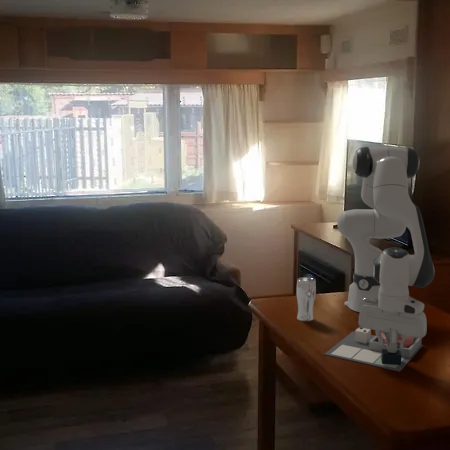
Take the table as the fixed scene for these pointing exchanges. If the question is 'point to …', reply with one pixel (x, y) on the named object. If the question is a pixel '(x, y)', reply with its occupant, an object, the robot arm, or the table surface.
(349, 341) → the game board
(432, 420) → the table surface
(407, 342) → the dome
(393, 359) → the watch
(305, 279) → the beer glass
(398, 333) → the robot arm
